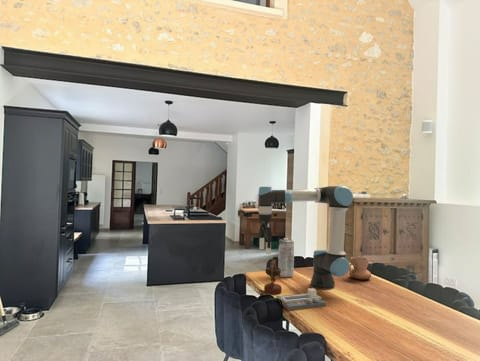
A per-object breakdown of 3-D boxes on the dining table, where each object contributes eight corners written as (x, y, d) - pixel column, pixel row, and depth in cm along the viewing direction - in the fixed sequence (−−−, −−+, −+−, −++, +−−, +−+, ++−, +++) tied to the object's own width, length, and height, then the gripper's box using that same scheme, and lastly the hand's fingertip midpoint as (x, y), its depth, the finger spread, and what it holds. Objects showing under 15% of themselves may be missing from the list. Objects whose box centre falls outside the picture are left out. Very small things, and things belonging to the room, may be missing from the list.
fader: (312, 296, 176) (312, 287, 176) (316, 298, 173) (316, 289, 173) (307, 296, 175) (307, 288, 175) (311, 298, 172) (311, 290, 172)
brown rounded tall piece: (283, 295, 183) (281, 261, 183) (264, 297, 183) (262, 262, 184) (280, 287, 198) (278, 255, 199) (263, 288, 198) (261, 256, 199)
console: (310, 296, 183) (310, 290, 183) (326, 306, 167) (326, 299, 168) (276, 299, 176) (276, 293, 176) (289, 310, 161) (289, 303, 161)
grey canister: (294, 277, 221) (294, 239, 221) (279, 277, 221) (279, 239, 222) (292, 274, 230) (292, 237, 230) (277, 274, 230) (278, 237, 230)
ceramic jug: (364, 275, 231) (364, 255, 231) (377, 280, 217) (376, 259, 217) (342, 276, 227) (342, 257, 227) (354, 282, 212) (353, 261, 213)
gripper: (253, 212, 189) (253, 247, 188) (264, 215, 164) (264, 256, 164) (265, 212, 190) (265, 247, 190) (278, 215, 166) (278, 255, 165)
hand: (265, 251), depth 177 cm, fingers open, 13 cm apart
